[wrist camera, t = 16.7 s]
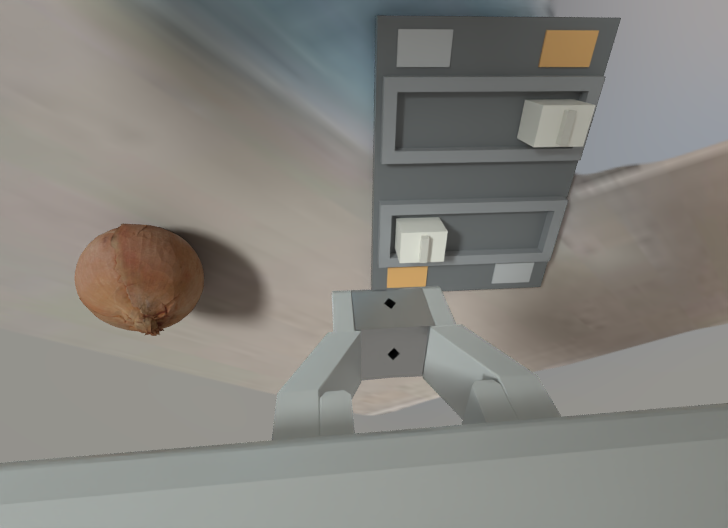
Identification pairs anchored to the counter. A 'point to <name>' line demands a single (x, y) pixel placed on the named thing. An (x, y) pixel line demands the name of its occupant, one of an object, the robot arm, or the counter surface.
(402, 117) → the switch bank
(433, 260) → the tab
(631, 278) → the counter surface
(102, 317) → the onion
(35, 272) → the counter surface
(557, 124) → the tab
